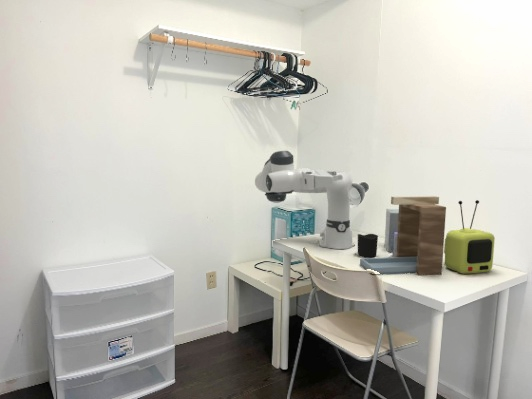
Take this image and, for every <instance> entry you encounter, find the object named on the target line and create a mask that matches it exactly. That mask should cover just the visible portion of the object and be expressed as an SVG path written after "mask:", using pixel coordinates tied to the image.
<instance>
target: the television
mask: <svg viewBox="0 0 532 399" xmlns="http://www.w3.org/2000/svg"><path fill="white" fill-rule="evenodd" d="M462 204H463V201H462V200H458V205H459V206H460V213H461V214H460V215H461V222H462V228H460V229H454V230H449V231H448V232H447V233H446V236H445V237H444V248H443V254H444V266H445V268H447V269H450V270H452V271H453V272H456V273H460V274H462V275H468V274H478V273H487V272H489V271H491V270H492V268H493V262H494V253H495V252H494V250H495V236H494V234H493V233H491V232H487V231H484V230H481V229H475V228H472V227H473V224H474V219H475V215H476V211H477V206H478V204H480V200H478V199H476V200H475V207H474V211H473V215H472V219H471V222H470V226H469V227H466V228H465V225H464V224H465V223H464V216H463V206H462Z"/></svg>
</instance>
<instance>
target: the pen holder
mask: <svg viewBox="0 0 532 399" xmlns="http://www.w3.org/2000/svg"><path fill="white" fill-rule="evenodd" d="M378 240H379V236H378V235H377V234H376V233H375V234H374V233H367V234H361V233H358V234H357V255H358V256H359V257H361V258H377V257H376V256H377V254H378V253H377V252H378Z"/></svg>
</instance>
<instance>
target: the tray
mask: <svg viewBox="0 0 532 399" xmlns="http://www.w3.org/2000/svg"><path fill="white" fill-rule="evenodd" d="M359 266H361V267H362V268H363V269H364V270H366V269H371V270H374V271H377V272H379V273H380V274H382V275H383V274H386V275H403V274H405V273H406V274H405V275H407V273H410V274H417V257H392V256H391V257H374V258H364V257H362V258H359ZM382 275H381V276H382Z"/></svg>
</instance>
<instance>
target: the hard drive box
mask: <svg viewBox="0 0 532 399" xmlns="http://www.w3.org/2000/svg"><path fill="white" fill-rule="evenodd" d="M385 211H386V212H385V229H384V230H385V231H384V233H385V234H384V246H385V249H386V250H387V252H388V253H393V232H398V214H399V208H386V209H385Z"/></svg>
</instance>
